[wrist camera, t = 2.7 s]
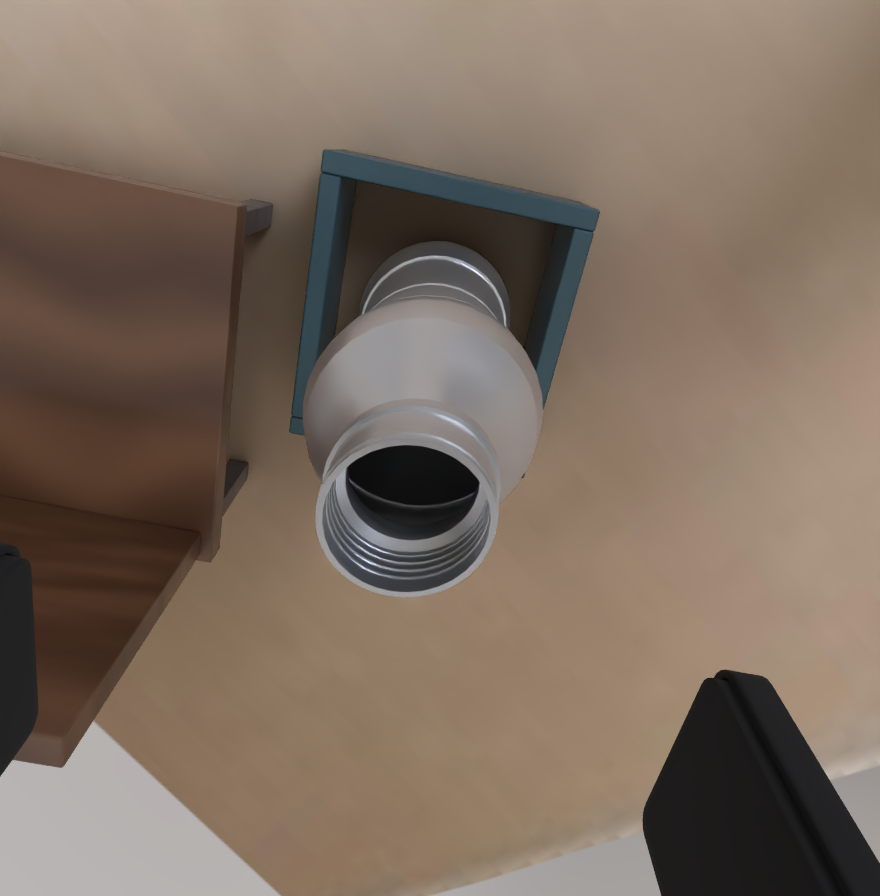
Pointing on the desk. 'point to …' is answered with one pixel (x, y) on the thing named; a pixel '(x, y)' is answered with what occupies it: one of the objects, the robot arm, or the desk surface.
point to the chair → (111, 413)
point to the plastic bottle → (420, 422)
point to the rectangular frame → (352, 166)
